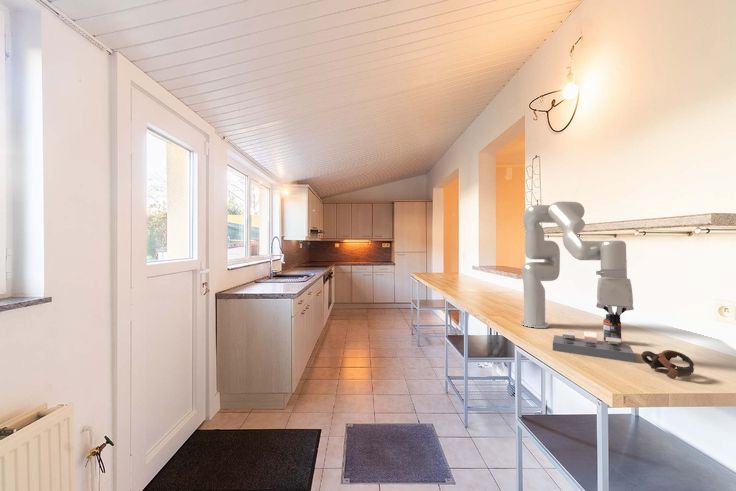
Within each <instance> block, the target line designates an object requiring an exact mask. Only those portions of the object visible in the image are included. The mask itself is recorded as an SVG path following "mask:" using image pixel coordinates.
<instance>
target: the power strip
mask: <svg viewBox="0 0 736 491" xmlns="http://www.w3.org/2000/svg"><path fill="white" fill-rule="evenodd" d="M552 351H555V352H562V353H569V354H576V355H582V356H589V357H595V358H601V359H602V358H603V359H609V360H614V361H615V360H616V361H622V362H623V361H624V362H629V363H635V353H634V351H633V348H632V347H631V345H630V344H627V343H619V345H618V344H610V343H608V342H605V341H604V340H603V341H602V340H597V343H592V342H584V338H581V337H575V338H573V339H571V338H564V336H563V335H556V334H554V335H553V340H552Z"/></svg>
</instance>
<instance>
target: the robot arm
mask: <svg viewBox="0 0 736 491" xmlns="http://www.w3.org/2000/svg"><path fill="white" fill-rule="evenodd" d="M585 211H586V210H585V208H584V206H583V205H582V204H581V203H580V202H578V201H555V202H553V203H551V204H535V205H534V204H533V205H531V206H528V207H527V208H526V209H525V211H524V213H523V217H522V221H523V226H524V234H525V236H524V252H525V256H526V258H527V259H530V260H543V261H532V262H530V261H529V262H526V263H524V264H523V265H522V267H521V269H520V270H521V277H522V282H523V320H522V321H520V325H521V326H523V325H524V326H523V327H526V326H528V327H527V328H531V327H534V328H533V329H548V328H549V327H550V324H549V323H548V322H546V290H545V287H544V285H543V284H542V282H553V281H556V280H557V279H558V278H559V276H560V268H561V251H560V250H561V249H560V247H559V245H558V243H557V242H556V241H554V240H545V230H544V228H543V226H542V225H541V224H542V223H547V224H548V223H549V224H552V223H553V224H556V225H557V227H559V228H560V230H562V232H563V234H562V243H563V246H564V248H565V249H566V250H567V251H568V253H569V254H570V255H571V256H572V257H573V258H574V259H576V260H578V261H600V270H596V276H597V275H598V276H599V277H598V280H597V288H596V298H597V301H596V302H597V303H596V308H599V309H603V310H604V311H605V312H607V314H609V316H610V323H612V325H613V326H614V325H616V326H618V323H619V324H620V321H621V315H622V314H623V313H625V312H626V311H634V309H635V308H634V298H633V296H634V294H633V287H632V282H631V279H630V278H628V270H627V268H628V266H627V265H628V264H627V263H628V262H627V243H626V242H625V241H624V240H582V239H581V238H580V237H579V236H578V234H579V233H581V232H582V231H583V230H584V228H585V225H586V223H585V220H583V217H584V215H585V213H586V212H585ZM613 307H616V311H615V312H614V311H613ZM614 314H615V315H614Z"/></svg>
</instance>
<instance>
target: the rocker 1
mask: <svg viewBox="0 0 736 491" xmlns="http://www.w3.org/2000/svg"><path fill="white" fill-rule="evenodd" d="M575 334H576V333H575V331H569V330H568V331H567V330H562V335H561V336H564V338H571V339H573V338H576V337H575V336H576V335H575Z"/></svg>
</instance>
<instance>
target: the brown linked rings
mask: <svg viewBox="0 0 736 491" xmlns="http://www.w3.org/2000/svg"><path fill="white" fill-rule="evenodd" d="M640 357H641V359H642V361H643V362H644V363H645V364H647V365H648V366H649V367H650V369H653V370H656V369H660V368H662V369H668V373H666V377H668V378H669V379H671V380H674V379H676V378H677V377H678V378H682V377H689V376H691V375H692V374H694V370H695V368H694V366H695V365H694V361H693V360H692V359H691V358H690V357H689V356H687V355H686V354H684V353H682V352H680V351H677V350H672V349H671V350H670V349H667V350H663V351H662V352H660V353H655V352H653V351H649V350H646V351H643V352H641V354H640ZM678 357H679V358H680V359H681V360H682V362H685V363H687V364H689V365H688V366H679V365H677V364H674V363H672V361H671V360H672V359H674V358H675V359H676V358H678ZM649 358H650V359H649Z"/></svg>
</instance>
